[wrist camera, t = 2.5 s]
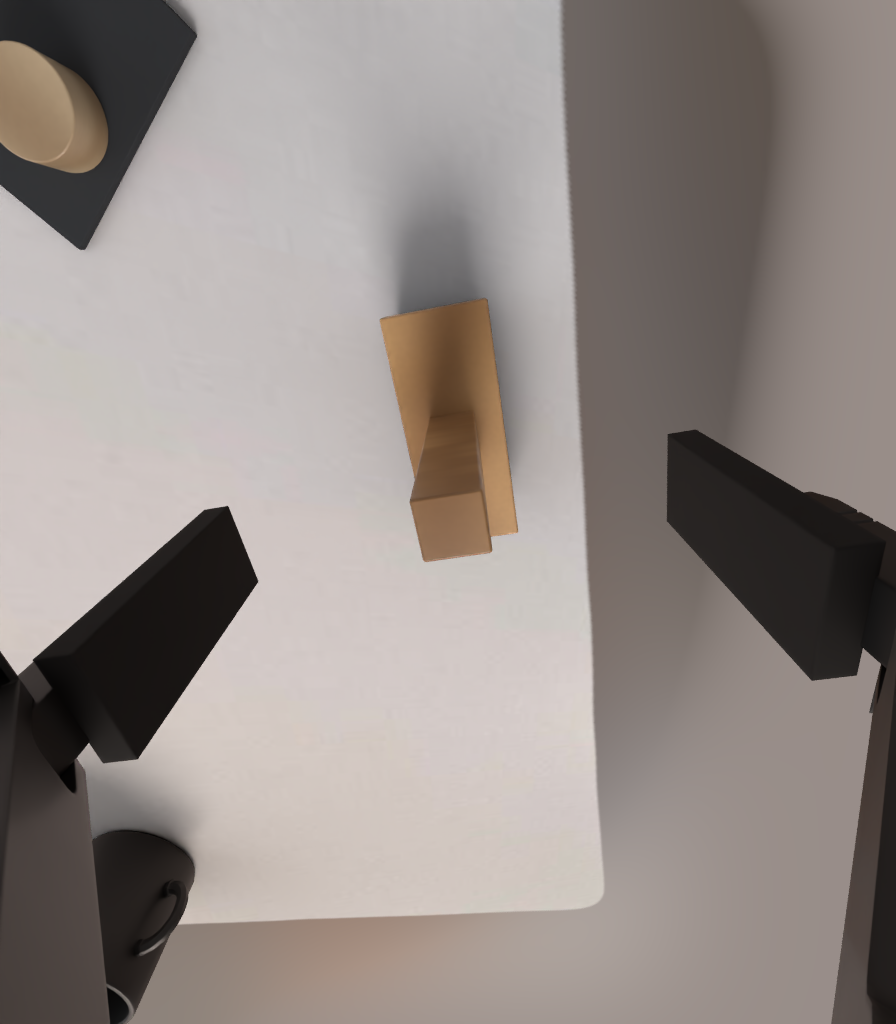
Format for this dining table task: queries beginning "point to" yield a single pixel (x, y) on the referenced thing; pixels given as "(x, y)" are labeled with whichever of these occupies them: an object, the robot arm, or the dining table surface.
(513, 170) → the dining table surface
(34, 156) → the disc
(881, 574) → the robot arm
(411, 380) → the wooden t-shaped block
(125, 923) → the mug
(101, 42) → the mat
